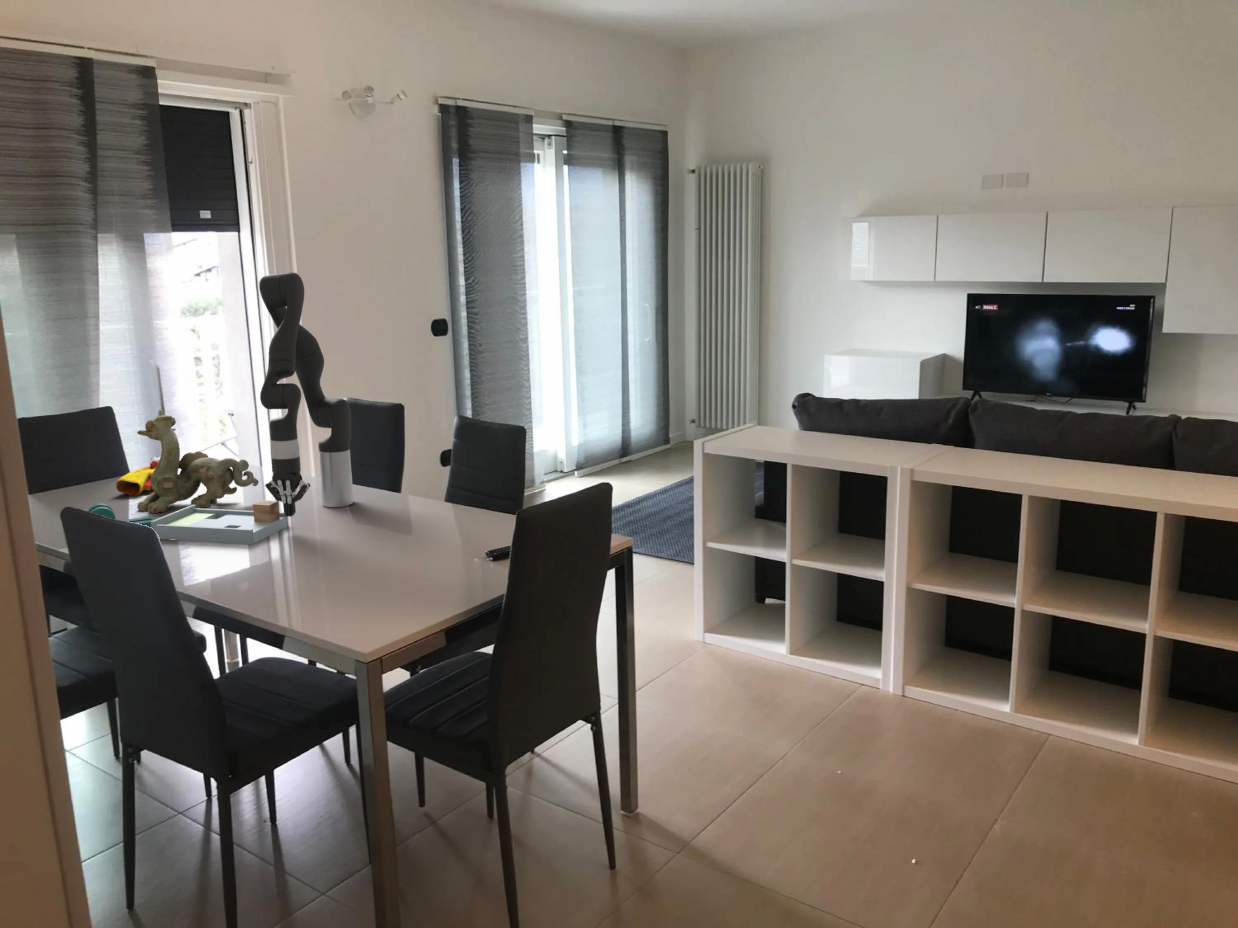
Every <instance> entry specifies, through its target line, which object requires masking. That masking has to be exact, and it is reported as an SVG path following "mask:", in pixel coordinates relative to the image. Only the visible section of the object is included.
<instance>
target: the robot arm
mask: <svg viewBox="0 0 1238 928" xmlns="http://www.w3.org/2000/svg"><path fill="white" fill-rule="evenodd" d="M258 286H259V292H260V296H261V299H262V301H263V303H264V306H265V307H266V310H267V312H268V313H269V316H270V317H271V319H272V321H273V323H274V325H275V327H276V328H277V330H276V331H275V333H274V335H272V338H271V341H270V344H269V348H268V363H267V365H268V366H267V371H266V375H265V379H264V382H263V385H262V387H261V389H260V390H261V391H260V394H259V395H260V396H259V398H260V399H259V400H260V403H261V405H262V406H263V408H265V409H267V410H287V412H286V414H285V415H283V416H278V417H275V418H272V419H271V420H270V421H269V433H270V459H271V471H272V477H271V480H270V481H269V482H267V483H265V488H266V489H267V490H268V492H269V493H270V494H271V495H272V497H273V498H274V500H275V501H279V502H281V503H282V505H283V512H284V514H286V516H288V518H291V517H293V516H295V515H296V503H297V502H299V501H300V500H302V498H304V496H305V495H306V493H307V492H308V490H309V488H310V487H311V483H309V482H305V481H304V479H303V476H302V474H301V470H302V469H301V467H302V466H301V456H300V445H299V438H298V427H297V426H298V424H297V422H298V415H299V414H298V413H299V409H300V405H301V400H302V393H303V397H304V401H305V405H306V407H307V410H308V414H309V417H310V419H311V421H312V423H313V424H314V425H315V426H316V427H318V428H322V429H330V436H328V437H327V438H324V439H322V440H320V441H319V442H318V457H319V459H318V460H319V469H320V471H319V473H320V474H319V475H320V486H321V487H320V489H321V505H322V506H323V507H326V508H342V507H347V506H350V504H351V505H352V504H353V503H354V491H353V490H354V489H353V474H352V462H351V447H350V446H351V444H350V443H351V439H352V412H351V408H350V407H351V406H350V404H349V403H348V401H347V400H346V399H343V398H335V397H333V398H331V397H326V396H325V394H324V392H323V388H322V386H321V378H322V376H323V371H324V366H325V358H324V354H323V352H322V350H321V347H320V344H319V342H318V339H317V338H316V337H315V336H314V335H313V333H311V332H310V331H309V330H308V329H306V328H305V327H304V326H303V325H302V324H301V323H300V322H301V317H302V313H303V307H304V302H305V285H304V282H303V280H302V277H301V276H300V275H299V274H298V273H297V272H294V271H293V272H282V273H274V274H273V273H272V274H268V275H267V274H266V275H264V276H262V277H261V278H260V279H259V285H258ZM294 375H296V377H297V380H298V383H299V385H300V387H301V388H300V387H299V386H298V384H296V383H292V382H291V383H290V382H288V383H287V382H286V383H284V382H283V383H279V381H280V380H283V379H289V378H290V377H292V376H294ZM298 488H299V490H298Z"/></svg>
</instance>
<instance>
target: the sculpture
mask: <svg viewBox="0 0 1238 928" xmlns="http://www.w3.org/2000/svg"><path fill="white" fill-rule="evenodd" d="M176 423H177V421H176V419H175V417H173V416H172V415H168V414H167V415H166V414H165V412H164V411H163V410H161V409H160V410H158V414H157V416H156V417H154V418H153V419H149V420H147V421H146V423H145V426H144V427H145V430H138V431H137V432H136V433H137V434H138V435H141V436H143V437H147V438H149V439H150V440H154V441H160V445H161V454H160V456H161V457H160V456H159V457H160V460H159V463H158V465H157V467H156V469H155V470H154V471H153V473H152V476H151V487H152V491H153V492H152V493H151V494H149V495H148V496H146V497H145V498H144V499H143V500H141V501H138V503H137V506H136V507H137V510H138V511H142V512H149V513H151V514H159V512H161V513H163V512H167V511H168V506H171V505H173V504H176V503H177V502H183V501H186V500H189V499H190V498H192V497H193V496H194V495H195V494H196V493H197V492H198V490H199V488H200V486H201V484H202V485H203V486H204V487H205V488H206V492H205V493H201V494H199V495H197V496H196V497H194V498H192V499H191V500H190V506H191V505H196V508H203V509H208V508H209V507H210V506H211V504H213V503H215V502H217V501H218V500H220V499H222V498H224V497H225V495H226V496H227V495H230V496H231V495H233V494H236V493H237V490H238V487H240V488H245V487H248V486H251V485H252V486H253V487H257V486H258V485H259V483H260V481H259V480H258V479H257V478H256V477H255V476H254V473H253V472H252V471H250V470H248V469H249V466H250V465H249V462H248V461H247V460H246V459H240V460H239V461H238V460H237V459H235V458H231V457H227V458H223V459H218V458H215V457H209V456H208V454H206V453H203V452H202V451H200V450H198V451H197V450H196V452H195V451H194V452H188V453H185V454H184V455H183V456H182V457H181V454H180V453H181V449H180V443H179V438H178V437H177V434H176V432H175V431H176V428H175V427H174V428H172V427H173V426H175V425H176ZM180 458H181V459H180ZM179 469H180V471H179ZM245 476H246V478H245V479H243V477H245ZM233 482H234V484H235V486H234V487H231V486H230V485H231V484H232V483H233ZM237 486H238V487H237Z"/></svg>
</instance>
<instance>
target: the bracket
mask: <svg viewBox="0 0 1238 928" xmlns="http://www.w3.org/2000/svg"><path fill="white" fill-rule="evenodd" d="M88 511H89V512H91V513H95V514H98V515H101V517H102V516H104V518H105V517H108V518H112V519H117V518H116V515H115V513H114V511H113V508H112V507H111V506H110V505H109V504H106V503H102V502H101V503H100V502H99V503H95V504H93V505H91V506H90V507H89V508H88V510H87V512H88ZM158 518H159V517H157V516H146V517H145V516H144V517H135V518H128V519H122V520H123V521H129V522H133V523H139V524H142V525H147V526H149V527H151V521H153V520H155V519H158Z"/></svg>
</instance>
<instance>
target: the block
mask: <svg viewBox="0 0 1238 928" xmlns="http://www.w3.org/2000/svg"><path fill="white" fill-rule="evenodd" d="M252 509H253V510H252V511H253V513H254V522H270V523H271V522H273V521H275V520H277V519H279V518H280V513H279V512H280V501H277V500H269V499H268V500H267V499H266V500H265V499H264V500H263V499H262V500H260V501H257V502H255V503H253V504H252Z"/></svg>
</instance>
